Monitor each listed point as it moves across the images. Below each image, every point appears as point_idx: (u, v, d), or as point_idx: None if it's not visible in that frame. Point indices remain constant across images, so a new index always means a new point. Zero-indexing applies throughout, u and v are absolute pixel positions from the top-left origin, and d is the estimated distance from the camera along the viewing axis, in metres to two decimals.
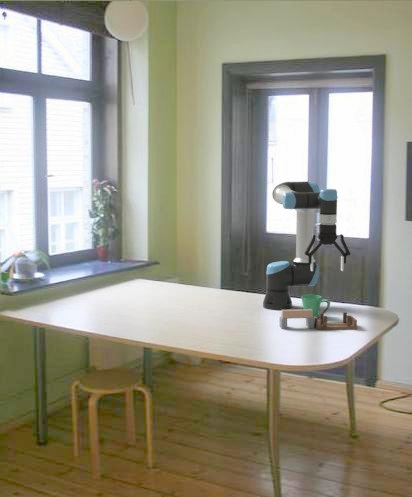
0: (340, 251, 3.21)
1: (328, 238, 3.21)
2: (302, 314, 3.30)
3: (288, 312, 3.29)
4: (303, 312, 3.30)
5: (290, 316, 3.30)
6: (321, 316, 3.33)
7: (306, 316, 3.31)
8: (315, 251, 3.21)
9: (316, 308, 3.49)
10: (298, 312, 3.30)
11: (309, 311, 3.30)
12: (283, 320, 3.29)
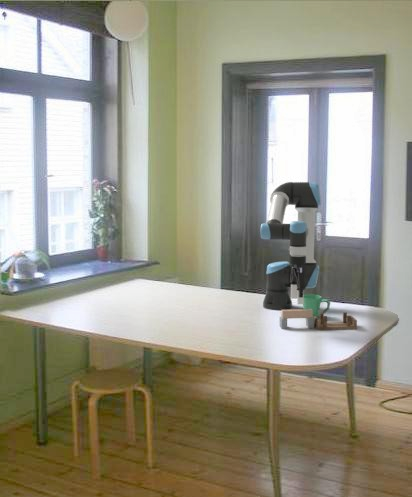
0: (297, 284, 3.23)
1: (295, 269, 3.28)
2: (302, 314, 3.30)
3: (288, 312, 3.29)
4: (303, 312, 3.30)
5: (290, 316, 3.30)
6: (321, 316, 3.33)
7: (306, 316, 3.31)
8: (292, 279, 3.34)
9: (316, 308, 3.49)
10: (298, 312, 3.30)
11: (309, 311, 3.30)
12: (283, 320, 3.29)
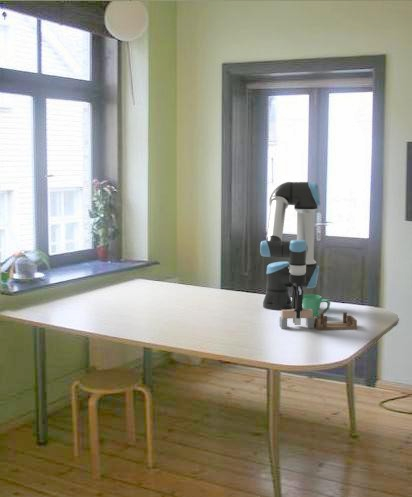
0: (295, 304, 3.29)
1: (295, 286, 3.29)
2: (302, 314, 3.30)
3: (288, 312, 3.29)
4: (303, 312, 3.30)
5: (290, 316, 3.30)
6: (321, 316, 3.33)
7: (306, 316, 3.31)
8: (293, 302, 3.32)
9: (316, 308, 3.49)
10: None
11: (309, 311, 3.30)
12: (283, 320, 3.29)
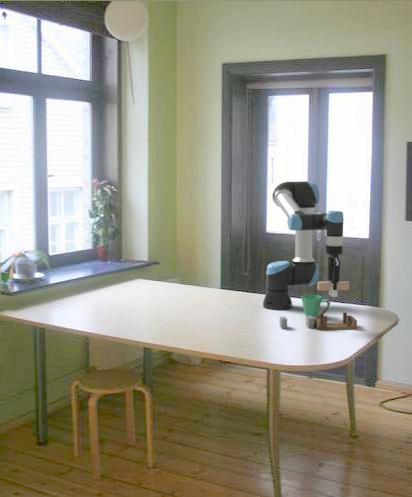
0: (332, 275, 3.26)
1: (331, 258, 3.27)
2: (339, 286, 3.28)
3: (325, 284, 3.27)
4: (340, 284, 3.28)
5: (327, 288, 3.27)
6: (321, 316, 3.33)
7: (343, 288, 3.28)
8: (330, 274, 3.30)
9: (316, 308, 3.49)
10: None
11: (346, 283, 3.28)
12: (283, 320, 3.29)
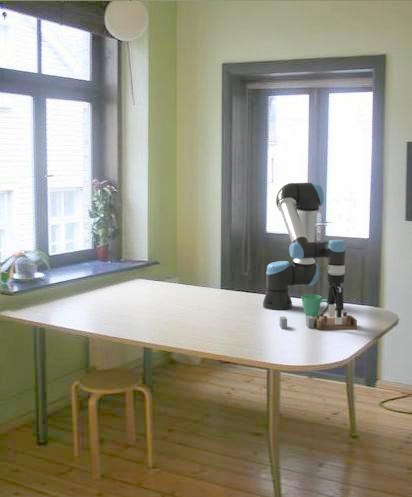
0: (335, 303, 3.26)
1: None
2: None
3: None
4: None
5: (328, 323, 3.30)
6: (321, 316, 3.33)
7: (344, 323, 3.31)
8: (330, 299, 3.35)
9: (316, 308, 3.49)
10: None
11: None
12: (283, 320, 3.29)
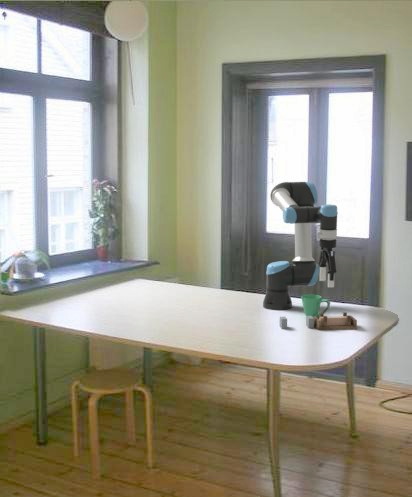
0: (328, 267, 3.26)
1: None
2: (340, 321, 3.30)
3: None
4: (341, 319, 3.30)
5: (328, 323, 3.30)
6: (321, 316, 3.33)
7: (344, 323, 3.31)
8: (321, 262, 3.37)
9: (316, 308, 3.49)
10: (336, 319, 3.30)
11: None
12: (283, 320, 3.29)
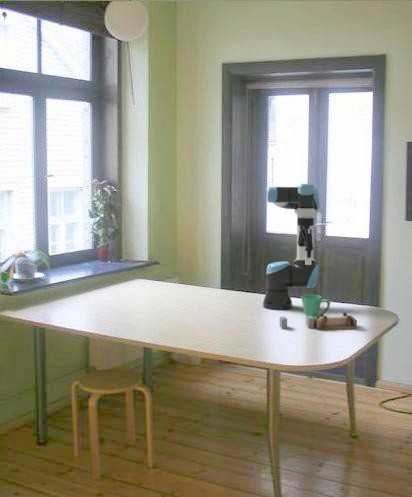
0: (305, 245, 3.31)
1: None
2: (340, 321, 3.30)
3: None
4: (341, 319, 3.30)
5: (328, 323, 3.30)
6: (321, 316, 3.33)
7: (344, 323, 3.31)
8: (300, 241, 3.42)
9: (316, 308, 3.49)
10: (336, 319, 3.30)
11: None
12: (283, 320, 3.29)
